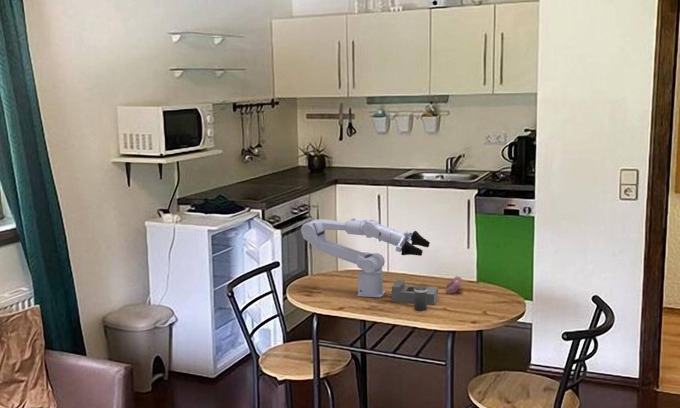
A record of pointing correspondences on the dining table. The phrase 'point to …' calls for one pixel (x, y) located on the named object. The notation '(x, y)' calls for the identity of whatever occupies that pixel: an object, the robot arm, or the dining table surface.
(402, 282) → the camera body
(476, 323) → the dining table surface
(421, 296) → the lens
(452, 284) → the pink rounded piece
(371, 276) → the robot arm
